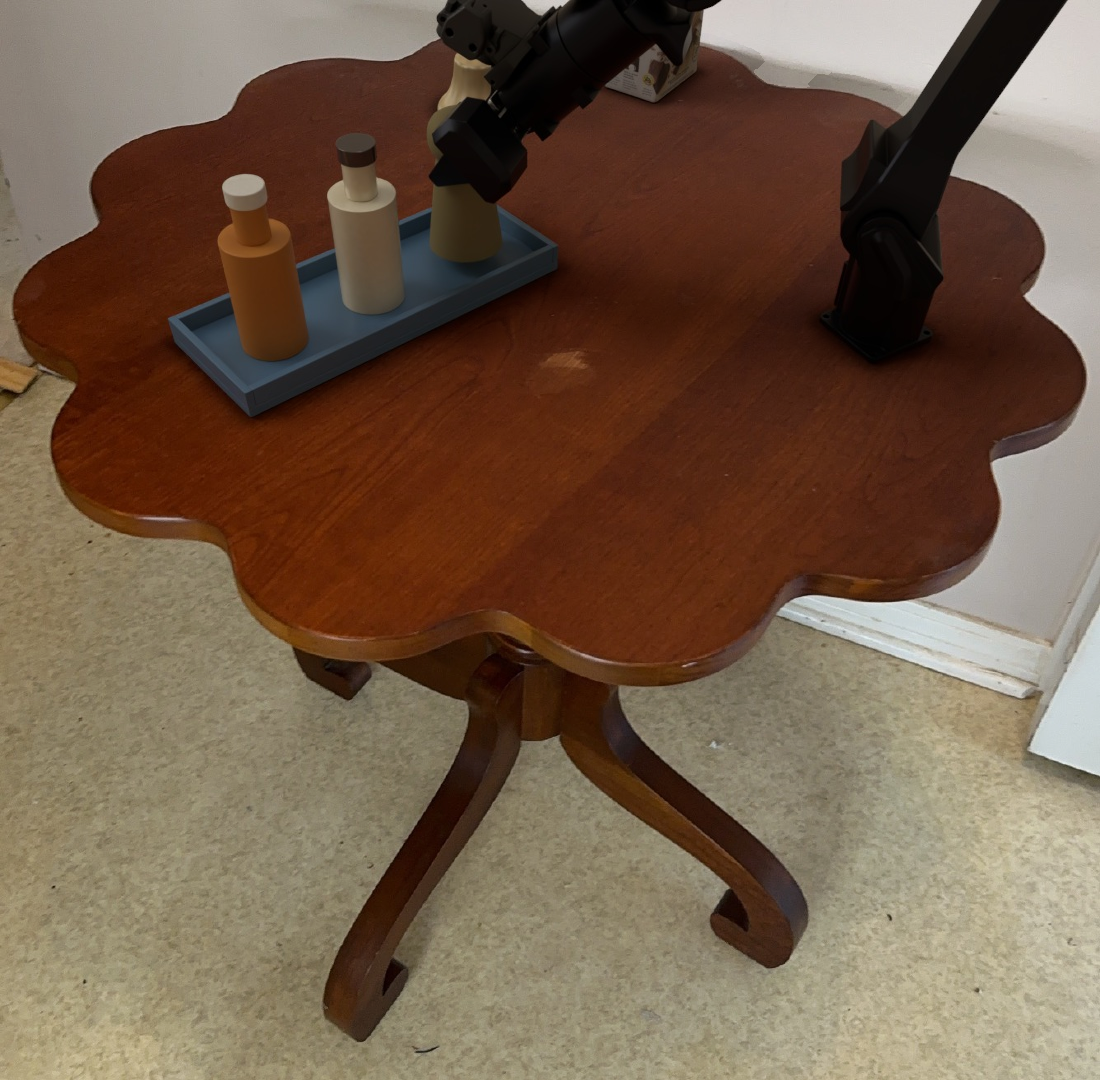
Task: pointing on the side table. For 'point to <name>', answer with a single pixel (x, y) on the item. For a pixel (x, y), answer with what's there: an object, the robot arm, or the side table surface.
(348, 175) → the cream bottle
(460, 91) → the hand bell
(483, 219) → the olive pawn piece
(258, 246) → the amber bottle
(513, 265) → the tray
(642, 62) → the coffee box
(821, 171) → the side table surface
